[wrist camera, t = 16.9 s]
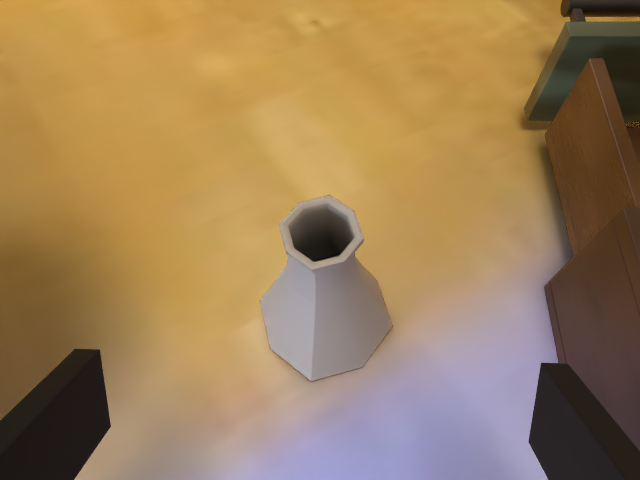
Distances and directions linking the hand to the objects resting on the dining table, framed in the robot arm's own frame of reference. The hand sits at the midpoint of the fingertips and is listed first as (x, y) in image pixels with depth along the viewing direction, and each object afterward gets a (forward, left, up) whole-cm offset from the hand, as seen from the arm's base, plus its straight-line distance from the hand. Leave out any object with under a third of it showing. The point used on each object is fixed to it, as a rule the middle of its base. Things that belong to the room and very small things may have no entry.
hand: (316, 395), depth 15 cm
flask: (-5, +5, -12) cm, 13 cm away
